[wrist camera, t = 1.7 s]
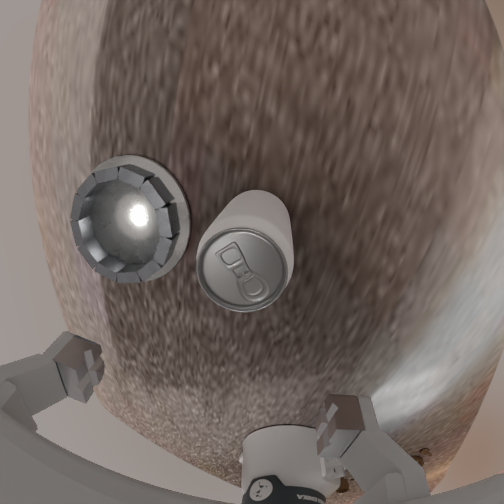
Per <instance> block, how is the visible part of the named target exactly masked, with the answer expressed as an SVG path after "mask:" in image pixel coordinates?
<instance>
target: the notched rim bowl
mask: <svg viewBox="0 0 504 504" xmlns="http://www.w3.org/2000/svg"><path fill="white" fill-rule="evenodd" d="M77 192H78V193H76V194H75V197H74V201H73V206H72V211H71V217H70V218H72V219H73V220H72V221H70V222H71V226H72V230H73V235H74V239H75V243H76V246H79V245H81V246H80V247H79V248H78V250H79V251H80V253H81V254H82V255H83V257H84V258H85V260H86V261H87V262H88V264H89V265H90V266H91V268H92V269H93V268H94V267H95V266H96V268H95V271H96V272H98V273H99V274H101V275H103V276H105V277H107V278H108V279H110V280H112V281H114V282H116V281H117V280H118V283H141V282H142V281H143V282H144V281H150V280H154V279H156V278H159V277H161V276H163V275H165V274H166V273H168V272H169V271H170V270H171V269H172V268H173V267H174V266H175V265H176V264H177V263H178V262H179V260H180V259H181V257H182V256H183V254H184V252H185V250H186V248H187V246H188V243H189V239H190V234H191V212H190V208H189V203H188V201H187V198H186V195H185V193H184V191H183V189H182V187H181V185H180V184H179V182H178V181H177V179H176V178H175V177H174V176H173V175H172V173H171V172H169V171H168V170H167V169H166V168H165V167H164V166H162V165H161V164H159V163H158V162H156V161H154V160H152V159H150V158H147V157H144V156H138V155H124V156H117V157H114V158H111V159H108V160H106V161H104V162H103V163H101V164H100V165H98V166H97V167H96V168H95V169H94V170H93V171H92V172H91V173H90V175H89V176H88V177H87V179H86V180H85V181H84V183H83V184H82V185H81V186H80V187H79V188H78V190H77Z"/></svg>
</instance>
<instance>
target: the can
mask: <svg viewBox="0 0 504 504" xmlns="http://www.w3.org/2000/svg"><path fill="white" fill-rule="evenodd" d="M196 259H197V262H196V273H197V278H198V281H199V284H200V286H201V288H202V290H203V291H204V293H205V294H206V295H207V296H208V297H209V298H210V299H211V300H212V301H213V302H214V303H216V304H217V305H219V306H221V307H223V308H225V309H227V310H231V311H235V312H254V311H258V310H261V309H264V308H266V307H268V306H269V305H271V304H272V303H274V302H275V301H276V300H277V299H278V298H279V297H280V295H281V294H282V292H283V291H284V289H285V287H286V286H287V284H288V282H289V280H290V278H291V275H292V272H293V266H294V252H293V241H292V232H291V224H290V217H289V213H288V211H287V209H286V207H285V205H284V204H283V202H282V201H281V200H280V199H279V198H278V197H276V196H275V195H273V194H271V193H269V192H266V191H262V190H250V191H246V192H243V193H241V194H239V195H237V196H236V197H235V198H234V199H232V200H231V201H230V203H229V204H228V205H227V206H226V207H225V208H224V209H223V211H222V212H221V213H220V214H219V215H218V217H217V218H216V219H215V220H214V221H213V223H212V224H211V225H210V226H209V228H208V229H207V230H206V232H205V233H204V235H203V236H202V238H201V240H200V243H199V246H198V249H197V258H196Z"/></svg>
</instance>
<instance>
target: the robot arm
mask: <svg viewBox="0 0 504 504" xmlns="http://www.w3.org/2000/svg"><path fill="white" fill-rule="evenodd" d="M101 353H102V350H101V345H99V344H97V343H95V342H92V341H90V340H87V339H85V338H82V337H80V336H78V335H75V334H72V333H70V332H68V331H66V332H63V333H62V334H61V335H60V336H59V337H58V338H57V339H56V340H55V341H54V342H53V344H52V345H51V346H50V347H49V348H48V349H47V350H46V351H45V352H44V353H43V354H42V355H41V354H36V355H33V356H30V357H27V358H24V359H21V360H18V361H14V362H11V363H8V364H5V365H2V366H0V504H232V503H226V502H221V501H215V500H209V499H205V498H200V497H195V496H191V495H187V494H183V493H179V492H175V491H171V490H168V489H164V488H160V487H157V486H154V485H151V484H148V483H145V482H142V481H139V480H136V479H133V478H130V477H127V476H125V475H122V474H120V473H117V472H114V471H112V470H109V469H107V468H104V467H102V466H100V465H97V464H95V463H93V462H91V461H88V460H86V459H84V458H82V457H80V456H78V455H76V454H74V453H72V452H70V451H68V450H66V449H64V448H62V447H60V446H59V445H57V444H55V443H53V442H51V441H50V440H48V439H46V438H44V437H43V436H41V435H39V434H37V433H36V430H37V425H36V423H35V421H34V420H33V418H32V415H34V414H36V413H38V412H40V411H42V410H44V409H46V408H48V407H50V406H52V405H53V404H55V403H57V402H59V401H61V400H63V399H64V398H66V397H67V396H69V397H71V398H73V399H76V400H78V401H81V402H83V403H87V401H88V400H89V398H90V396H91V395H92V393H93V392H94V391H93V386H95V385H97V384H99V383H100V381H101V379H102V377H103V374H104V361H103V360H102V358H101V357H100V354H101ZM239 462H240V463H242V492H243V493H244V495H243V499H242V503H241V504H325V502H326V498H327V497H328V496H329V495H330V494H332V493H333V492H334V491H336V490H337V489H338V488H339V487H340V483H341V480H340V477H344V476H345V470H346V469H347V470H348V471H349V473H350V474H351V475H352V477H353V478H354V479H355V481H356V482H357V483H358V485H359V486H360V487H361V489H362V490H363V491H364V494H363V495H362V496H361V497H359V498H358V499H357V500H356V501H355V502H353V504H504V474H497V475H494V476H491V477H489V478H486V479H484V480H481V481H479V482H476V483H473V484H470V485H467V486H464V487H461V488H457V489H454V490H450V491H447V492H443V493H439V494H436V495H432V496H431V495H430V491H429V487H428V483H427V479H426V476H425V472H424V469H423V467H422V466H421V465H420V464H418V463H417V462H416V461H415V460H414V459H413V458H412V457H411V456H410V455H409V454H408V453H406V452H405V451H404V450H403V449H402V448H401V447H400V446H399V445H398V444H397V443H396V442H395V441H394V440H393V439H391V438H390V437H389V436H388V435H387V434H386V433H385V432H384V431H380V430H379V426H378V423H377V419H376V415H375V412H374V408H373V404H372V401H371V398H370V397H369V396H354V395H337V394H329V395H328V396H327V397H326V399H325V406H324V407H322V408H321V409H320V411H319V413H318V415H317V419H316V429H313V428H308V427H302V426H293V425H283V426H273V427H267V428H263V429H260V430H257V431H255V432H253V433H251V434H250V435H248V436H247V437H246V438H245V439H244V441H243V452H242V453H241V454H240V455H239Z"/></svg>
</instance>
